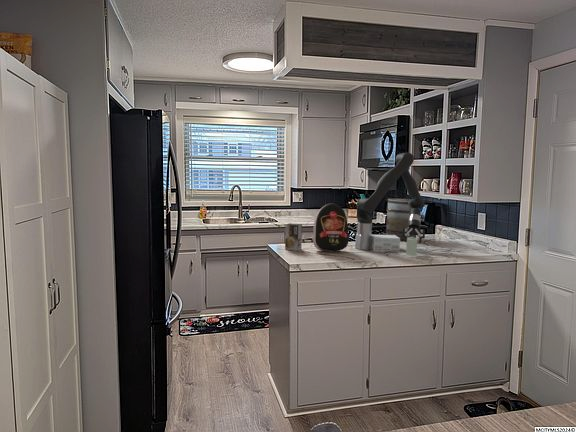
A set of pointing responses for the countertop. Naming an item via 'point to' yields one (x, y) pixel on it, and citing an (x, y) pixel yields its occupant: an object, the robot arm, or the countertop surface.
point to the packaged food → (330, 228)
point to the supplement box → (385, 243)
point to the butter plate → (410, 255)
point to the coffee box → (293, 236)
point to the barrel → (398, 217)
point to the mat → (423, 251)
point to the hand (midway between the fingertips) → (412, 242)
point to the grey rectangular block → (411, 246)
